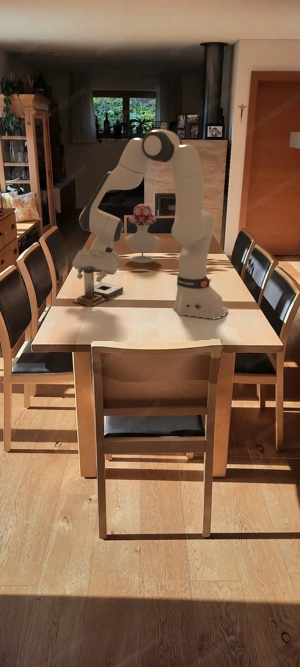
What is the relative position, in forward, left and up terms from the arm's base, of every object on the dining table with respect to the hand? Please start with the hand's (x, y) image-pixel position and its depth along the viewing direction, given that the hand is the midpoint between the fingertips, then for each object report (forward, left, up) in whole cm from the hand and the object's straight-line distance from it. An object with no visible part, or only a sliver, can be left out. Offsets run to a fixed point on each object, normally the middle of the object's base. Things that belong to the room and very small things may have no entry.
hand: (88, 279), depth 210 cm
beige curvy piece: (+19, -73, -10) cm, 77 cm away
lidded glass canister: (0, 0, -9) cm, 9 cm away
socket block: (+1, -12, -10) cm, 16 cm away
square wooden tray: (0, 0, -10) cm, 10 cm away
